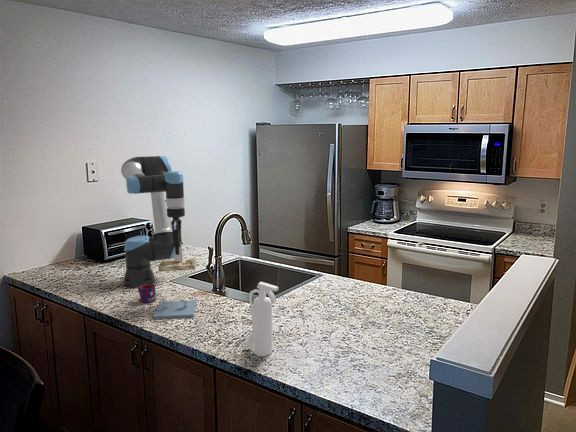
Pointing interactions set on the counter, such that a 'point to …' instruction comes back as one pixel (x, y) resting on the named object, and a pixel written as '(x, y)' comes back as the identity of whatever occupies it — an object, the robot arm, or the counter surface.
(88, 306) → the counter surface
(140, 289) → the red patterned cup
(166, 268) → the peg stand base
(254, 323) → the fire extinguisher
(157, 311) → the board
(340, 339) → the counter surface
